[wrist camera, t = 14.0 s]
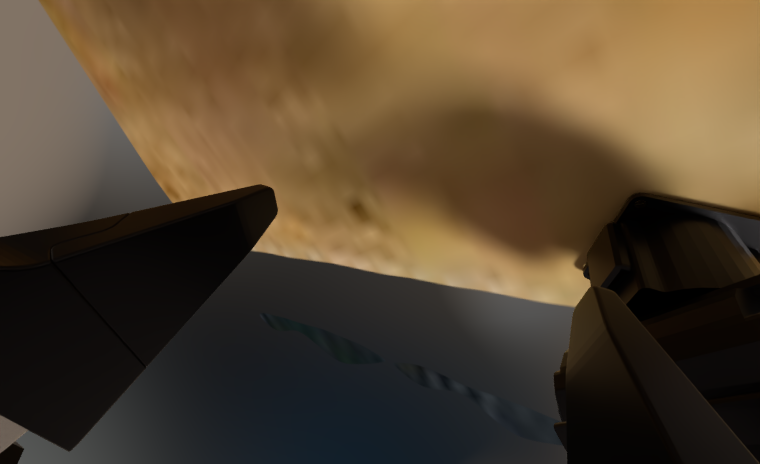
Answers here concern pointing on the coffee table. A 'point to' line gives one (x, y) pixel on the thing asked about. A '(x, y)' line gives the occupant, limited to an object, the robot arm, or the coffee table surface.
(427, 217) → the coffee table surface
